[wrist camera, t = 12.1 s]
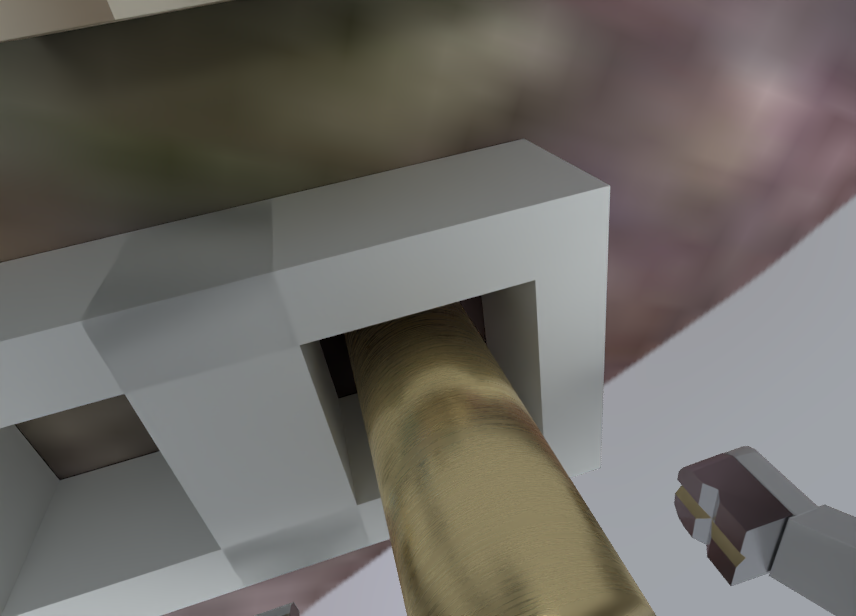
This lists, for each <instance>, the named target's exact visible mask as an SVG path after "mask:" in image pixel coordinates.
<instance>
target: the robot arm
mask: <svg viewBox="0 0 856 616" xmlns="http://www.w3.org/2000/svg"><path fill="white" fill-rule="evenodd" d="M678 481H679V482H680V483H681V485H682V486H681V487H680V488H679V489H678V491H677V492H676V493H675V501H674V504H675V508H676V511H677V514H678V517H679V519H680V521H681V522H682V524H683V526H684V527H685V529H686V530H687V531H688V533H689V534H690V535H691V537H692V538H694V539H696V540H698V541H700V542H702V543H704V544H706V546H707V557H708V558H709V559H710V561H711V562H712V563H713V564H714V566H715V567H716V568H717V569H718V571H719V572H720V573H721V574H722V576H723V577H724V578H725V579H726V581H727V582H728V583H729V585H730V586H733V585H736V584H739V583H742V582H745V581H747V580H751V579H753V578H756V577H759V576H762V575H765V574H767V573H770V574H769V576H771V577H772V578H774V579H776V580H777V581H779V582H780V583H782V584H784V585H785V586H787V587H789V588H790V589H792V590H794V591H795V592H797V593H799V594H800V595H802V596H804V597H806V598H807V599H809V600H810V601H812V602H814V603H815V604H817V605H819V606H820V607H822V608H824V609H825V610H827V611H829V612H831V613H832V614H834V615H836V616H856V517H854V516H851V515H849V514H847V513H844V512H842V511H839V510H837V509H834V508H832V507H829V506H827V505H822V506H819V507H818V506H817V505H816V504H815V503H813V502H812V501H811V500H810V499H809V498H808V497H807V496H806V495H805V494H804V493H803V492H801V491H800V490H799V489H798V488H797V487H796V486H795V485H794V484H792V482H790V481H789V480H788V479H787V478H786V477H785V476H784V475H783V474H782V473H781V472H780V471H778V470H777V469H776V468H775V467H774V466H773V465H772V464H771V463H769V461H767V460H766V459H765V458H764V457H763V456H762V455H761V454H760V453H759V452H757V451H756V450H755V449H753V448H751V447H749V446H743V447H740V448H737V449H734V450H731V451H729V452H726V453H722V454H719V455H716V456H713V457H711V458H708V459H705V460H702V461H700V462H697V463H695V464H692V465H689V466H686V467H683V468H682V469H681V470H680V471H679V473H678ZM255 616H300V614H299V610H298V608H297V606H296V605H295V603H294V602H293V603H290V604H287V605H284V606H281V607H278V608H275V609H272V610H269V611H267V612H264V613H261V614H258V615H255Z"/></svg>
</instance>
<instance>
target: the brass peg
mask: <svg viewBox="0 0 856 616" xmlns="http://www.w3.org/2000/svg"><path fill="white" fill-rule="evenodd" d="M344 336H345V340H346V345H347V349H348V354H349V358H350V363H351V367H352V371H353V376H354V380H355V385H356V389H357V394H358V398H359V403H360V407H361V412H362V416H363V420H364V425H365V429H366V434H367V438H368V443H369V447H370V452H371V456H372V461H373V465H374V469H375V474H376V478H377V483H378V487H379V492H380V496H381V501H382V505H383V510H384V514H385V518H386V523H387V527H388V532H389V536H390V541H391V545H392V550H393V554H394V559H395V563H396V567H397V572H398V576H399V581H400V585H401V589H402V594H403V598H404V603H405V608H406V612H407V616H656V615H655V613H654V611H653V610H652V608H651V607H650V605H649V603H648V602H647V600H646V599H645V597H644V596H643V594H642V592H641V591H640V589H639V587H638V586H637V584H636V583H635V581H634V579H633V578H632V576H631V575H630V573H629V572H628V570H627V568H626V567H625V565H624V564H623V562H622V560H621V559H620V557H619V556H618V554H617V552H616V551H615V550H614V548H613V546H612V544H611V543H610V541H609V540H608V538H607V537H606V535H605V533H604V532H603V530H602V528H601V527H600V525H599V524H598V522H597V521H596V519H595V517H594V516H593V514H592V513H591V511H590V510H589V508H588V506H587V505H586V503H585V501H584V500H583V498H582V497H581V495H580V494H579V492H578V490H577V489H576V487H575V486H574V484H573V482H572V481H571V479H570V478H569V476H568V474H567V473H566V471H565V470H564V468H563V466H562V465H561V463H560V462H559V460H558V458H557V457H556V455H555V454H554V452H553V451H552V449H551V447H550V446H549V444H548V443H547V441H546V439H545V438H544V436H543V435H542V433H541V431H540V430H539V428H538V427H537V425H536V423H535V422H534V420H533V419H532V417H531V416H530V414H529V412H528V411H527V409H526V408H525V406H524V404H523V403H522V401H521V400H520V398H519V396H518V395H517V393H516V392H515V390H514V388H513V387H512V385H511V384H510V382H509V380H508V379H507V377H506V376H505V374H504V373H503V371H502V369H501V368H500V366H499V365H498V363H497V361H496V360H495V358H494V357H493V355H492V353H491V352H490V350H489V349H488V347H487V345H486V344H485V342H484V341H483V339H482V338H481V336H480V334H479V333H478V331H477V330H476V328H475V326H474V325H473V323H472V322H471V320H470V318H469V317H468V315H467V314H466V312H465V310H464V309H463V307H462V306H461V304H460V303H459V301H458V302H454V303H451V304H447V305H443V306H440V307H436V308H433V309H429V310H425V311H422V312H418V313H415V314H411V315H407V316H404V317H400V318H396V319H393V320H389V321H386V322H382V323H378V324H375V325H371V326H368V327H364V328H360V329H357V330H353V331H350V332H346V333H344Z"/></svg>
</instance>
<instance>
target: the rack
mask: <svg viewBox="0 0 856 616" xmlns="http://www.w3.org/2000/svg"><path fill="white" fill-rule="evenodd" d="M609 205H610V185H608V184H606V183H605V182H603V181H601V180H599V179H597V178H595V177H594V176H592V175H590V174H588V173H586V172H584V171H583V170H581V169H579V168H577V167H575V166H573V165H572V164H570V163H568V162H566V161H564V160H562V159H561V158H559V157H557V156H555V155H553V154H551V153H550V152H548V151H546V150H544V149H542V148H540V147H539V146H537V145H535V144H533V143H531V142H529V141H528V140H526V139H520V140H516V141H512V142H508V143H503V144H499V145H495V146H491V147H487V148H482V149H478V150H474V151H470V152H465V153H461V154H457V155H453V156H449V157H444V158H440V159H436V160H432V161H427V162H423V163H419V164H415V165H411V166H406V167H402V168H398V169H394V170H390V171H385V172H381V173H377V174H373V175H368V176H364V177H360V178H356V179H352V180H347V181H343V182H339V183H335V184H331V185H326V186H322V187H318V188H314V189H309V190H305V191H301V192H297V193H293V194H288V195H284V196H280V197H276V198H271V199H267V200H263V201H259V202H255V203H250V204H246V205H242V206H238V207H234V208H229V209H225V210H221V211H217V212H212V213H208V214H204V215H200V216H196V217H191V218H187V219H183V220H179V221H175V222H170V223H166V224H162V225H158V226H153V227H149V228H145V229H141V230H137V231H132V232H128V233H124V234H120V235H115V236H111V237H107V238H103V239H99V240H94V241H90V242H86V243H82V244H78V245H73V246H69V247H65V248H61V249H56V250H52V251H48V252H44V253H40V254H35V255H31V256H27V257H23V258H18V259H14V260H10V261H6V262H2V263H0V616H161V615H164V614H167V613H170V612H173V611H176V610H179V609H182V608H185V607H188V606H191V605H194V604H197V603H200V602H203V601H206V600H209V599H212V598H215V597H218V596H221V595H224V594H227V593H230V592H233V591H236V590H239V589H241V588H244V587H247V586H250V585H253V584H256V583H259V582H262V581H265V580H268V579H271V578H274V577H277V576H280V575H283V574H286V573H289V572H292V571H295V570H298V569H301V568H304V567H307V566H310V565H313V564H316V563H319V562H322V561H325V560H328V559H331V558H334V557H337V556H340V555H343V554H346V553H349V552H352V551H355V550H358V549H361V548H364V547H367V546H370V545H373V544H376V543H379V542H382V541H385V540H388V539H390V536H389V532H388V527H387V523H386V518H385V514H384V510H383V505H382V501H381V496H380V492H379V487H378V483H377V478H376V474H375V469H374V465H373V461H372V456H371V452H370V447H369V443H368V438H367V434H366V429H365V425H364V420H363V416H362V412H361V407H360V403H359V398H358V394H357V393H356V394H352V395H349V396H346V397H342V398H339V399H338V396H337V393H336V390H335V387H334V384H333V381H332V378H331V375H330V372H329V369H328V366H327V363H326V360H325V357H324V354H323V351H322V348H321V345H320V342H319V340H321V339H324V338H328V337H332V336H335V335H339V334H342V333H346V332H350V331H353V330H357V329H360V328H364V327H368V326H371V325H375V324H378V323H382V322H386V321H389V320H393V319H396V318H400V317H404V316H407V315H411V314H415V313H418V312H422V311H425V310H429V309H433V308H436V307H440V306H443V305H447V304H451V303H454V302H458V301H461V300H465V299H469V298H472V297H476V296H480V295H481V299H482V307H483V316H484V324H485V333H486V341H487V347H488V349H489V350H490V352H491V353H492V355H493V357H494V358H495V360H496V361H497V363H498V365H499V366H500V368H501V369H502V371H503V373H504V374H505V376H506V377H507V379H508V380H509V382H510V384H511V385H512V387H513V388H514V390H515V392H516V393H517V395H518V396H519V398H520V400H521V401H522V403H523V404H524V406H525V408H526V409H527V411H528V412H529V414H530V416H531V417H532V419H533V420H534V422H535V423H536V425H537V427H538V428H539V430H540V431H541V433H542V435H543V436H544V438H545V439H546V441H547V443H548V444H549V446H550V447H551V449H552V451H553V452H554V454H555V455H556V457H557V458H558V460H559V462H560V463H561V465H562V466H563V468H564V470H565V471H566V473H567V474H568V476H569V478H573V477H576V476H578V475H582V474H584V473H587V472H590V471H594V470H596V469H600V468H601V445H602V415H603V386H604V356H605V325H606V295H607V265H608V235H609ZM122 394H125V396H126V397H127V399H128V401H129V402H130V404H131V405H132V407H133V409H134V410H135V412H136V413H137V415H138V417H139V418H140V420H141V421H142V423H143V425H144V426H145V428H146V429H147V431H148V433H149V434H150V436H151V437H152V439H153V441H154V442H155V444H156V445H157V447H158V449H159V450H160V451H158V452H155V453H152V454H148V455H145V456H141V457H138V458H135V459H131V460H128V461H124V462H121V463H118V464H114V465H111V466H107V467H104V468H100V469H97V470H94V471H90V472H87V473H83V474H80V475H77V476H73V477H70V478H66V479H63V480H59V479H58V478H57V477H56V475H55V474H54V473H53V472H52V470H51V469H50V468H49V467H48V465H47V464H46V463H45V462H44V461H43V459H42V458H41V457H40V456H39V454H38V453H37V452H36V451H35V449H34V448H33V447H32V446H31V444H30V443H29V442H28V441H27V440H26V438H25V437H24V436H23V435H22V433H21V432H20V431H19V430H18V428H17V427H16V426H15V425H14V424H17V423H21V422H25V421H28V420H32V419H36V418H39V417H43V416H46V415H50V414H54V413H57V412H61V411H64V410H68V409H72V408H75V407H79V406H82V405H86V404H90V403H93V402H97V401H100V400H104V399H108V398H111V397H115V396H119V395H122Z"/></svg>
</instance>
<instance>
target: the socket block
mask: <svg viewBox="0 0 856 616" xmlns="http://www.w3.org/2000/svg"><path fill="white" fill-rule="evenodd" d="M228 1H234V0H0V43H2V42H8V41H14V40H21V39H27V38H33V37H38V36H44V35H49V34H55V33H60V32H66V31H71V30H76V29H82V28H87V27H93V26H98V25H104V24H109V23H114V22H120V21H125V20H131V19H136V18H141V17H147V16H152V15H158V14H163V13H169V12H174V11H179V10H185V9H190V8H196V7H201V6H207V5H212V4H217V3H223V2H228Z"/></svg>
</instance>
